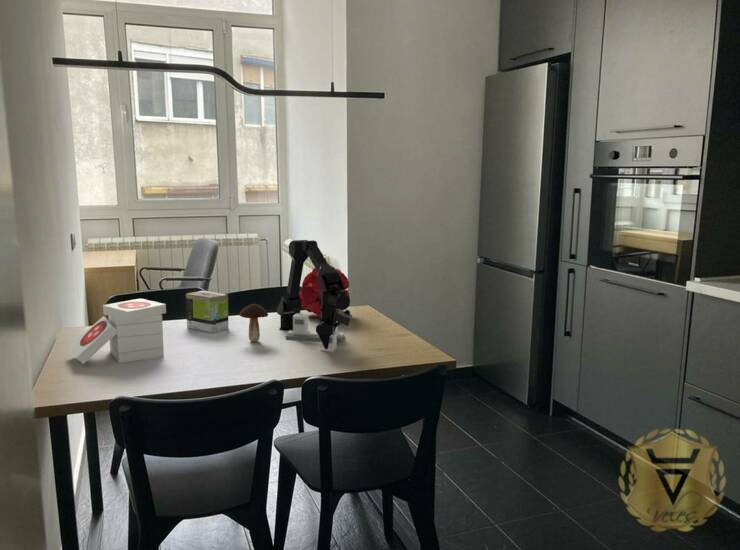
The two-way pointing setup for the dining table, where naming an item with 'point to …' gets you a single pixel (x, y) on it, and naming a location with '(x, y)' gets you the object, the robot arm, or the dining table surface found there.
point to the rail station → (306, 330)
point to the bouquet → (316, 292)
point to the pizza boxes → (125, 332)
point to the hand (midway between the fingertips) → (328, 345)
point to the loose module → (331, 343)
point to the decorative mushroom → (253, 319)
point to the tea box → (207, 311)
